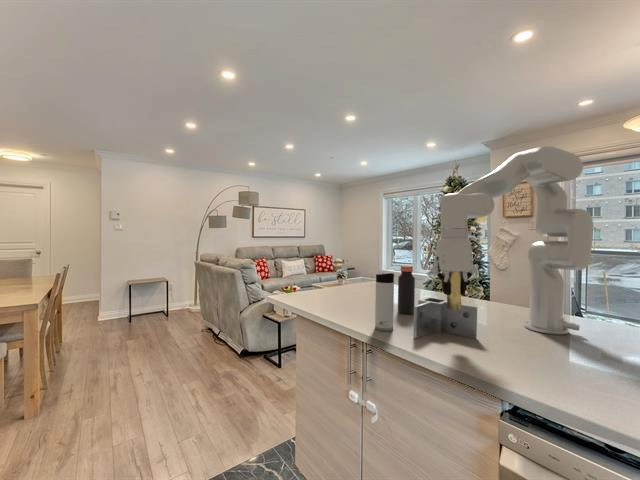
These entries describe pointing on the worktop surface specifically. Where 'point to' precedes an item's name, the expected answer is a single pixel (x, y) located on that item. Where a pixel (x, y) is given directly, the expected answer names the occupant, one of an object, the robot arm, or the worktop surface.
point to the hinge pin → (454, 290)
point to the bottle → (406, 290)
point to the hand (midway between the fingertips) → (454, 293)
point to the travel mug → (384, 302)
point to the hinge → (444, 318)
